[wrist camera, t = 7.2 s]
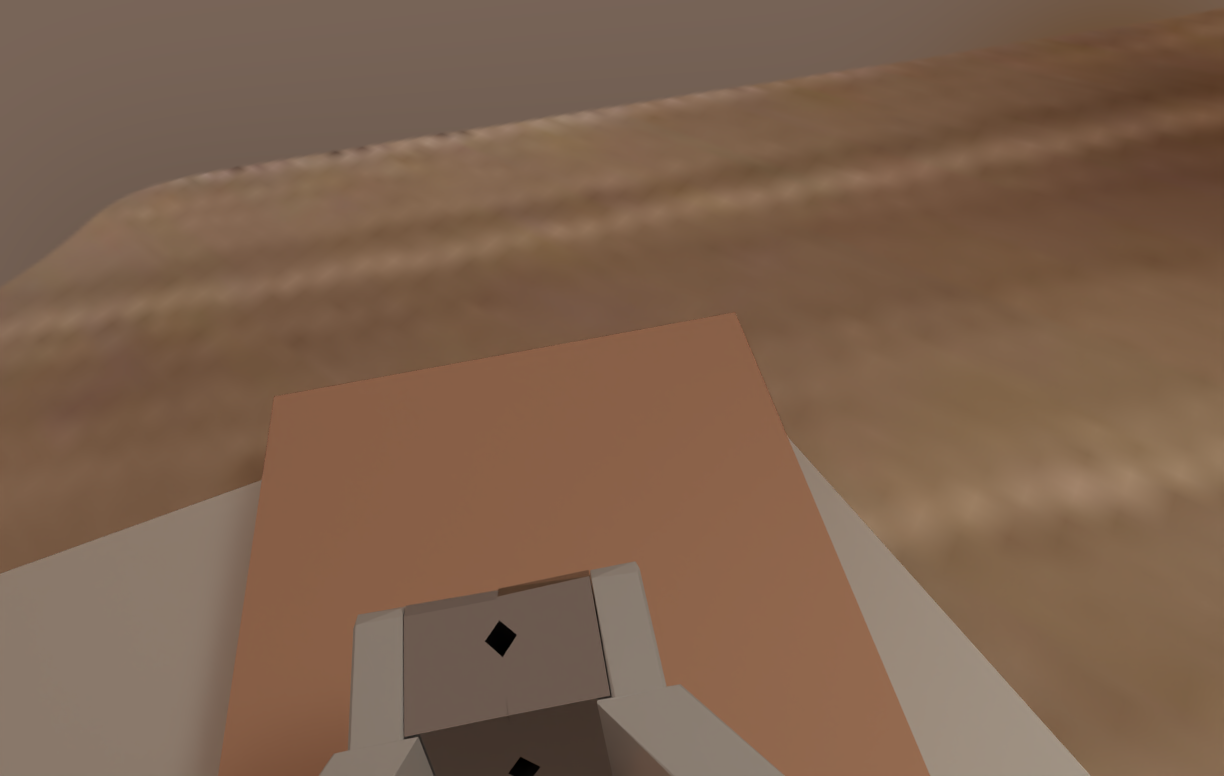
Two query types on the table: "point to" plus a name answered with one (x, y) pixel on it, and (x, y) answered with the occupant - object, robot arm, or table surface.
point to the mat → (210, 622)
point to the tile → (561, 539)
